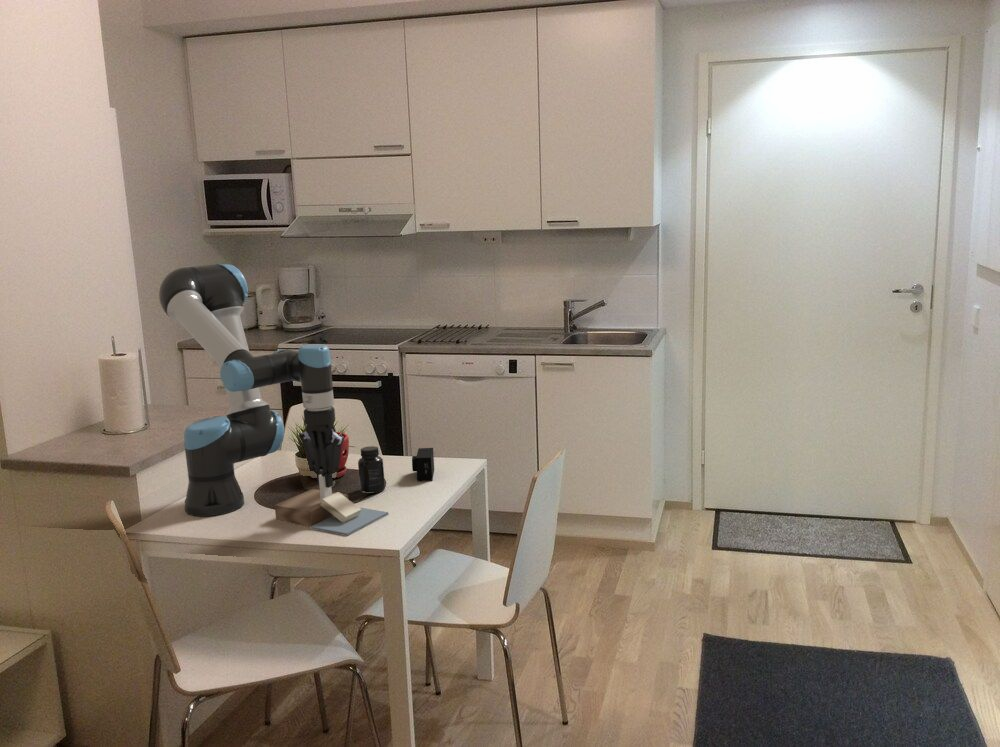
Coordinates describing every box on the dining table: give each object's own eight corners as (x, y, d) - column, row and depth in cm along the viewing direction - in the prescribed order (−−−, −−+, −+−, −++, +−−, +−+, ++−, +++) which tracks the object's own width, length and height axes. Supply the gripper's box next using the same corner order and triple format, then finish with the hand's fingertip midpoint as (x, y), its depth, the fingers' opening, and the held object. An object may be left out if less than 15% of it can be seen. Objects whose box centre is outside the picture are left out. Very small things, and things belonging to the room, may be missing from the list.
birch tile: (320, 505, 223) (322, 498, 222) (336, 498, 228) (338, 491, 227) (343, 523, 220) (345, 516, 219) (359, 515, 225) (361, 509, 224)
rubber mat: (310, 528, 219) (310, 526, 219) (352, 508, 232) (352, 506, 232) (347, 535, 213) (347, 533, 213) (388, 514, 226) (388, 512, 226)
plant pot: (323, 485, 253) (320, 444, 250) (296, 477, 262) (293, 437, 259) (360, 473, 262) (357, 434, 260) (333, 466, 271) (330, 428, 269)
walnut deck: (276, 520, 226) (274, 505, 225) (313, 503, 238) (312, 488, 237) (312, 527, 220) (310, 511, 219) (348, 509, 232) (347, 494, 231)
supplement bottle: (388, 486, 249) (385, 445, 247) (380, 494, 242) (377, 451, 240) (364, 486, 250) (361, 444, 248) (356, 494, 244) (353, 451, 241)
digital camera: (415, 471, 263) (414, 448, 261) (434, 470, 263) (433, 447, 261) (413, 481, 253) (411, 458, 251) (432, 481, 253) (430, 457, 251)
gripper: (288, 408, 221) (296, 500, 225) (329, 413, 214) (336, 506, 219) (309, 402, 227) (316, 491, 232) (349, 406, 221) (356, 497, 225)
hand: (326, 498), depth 225 cm, fingers closed
